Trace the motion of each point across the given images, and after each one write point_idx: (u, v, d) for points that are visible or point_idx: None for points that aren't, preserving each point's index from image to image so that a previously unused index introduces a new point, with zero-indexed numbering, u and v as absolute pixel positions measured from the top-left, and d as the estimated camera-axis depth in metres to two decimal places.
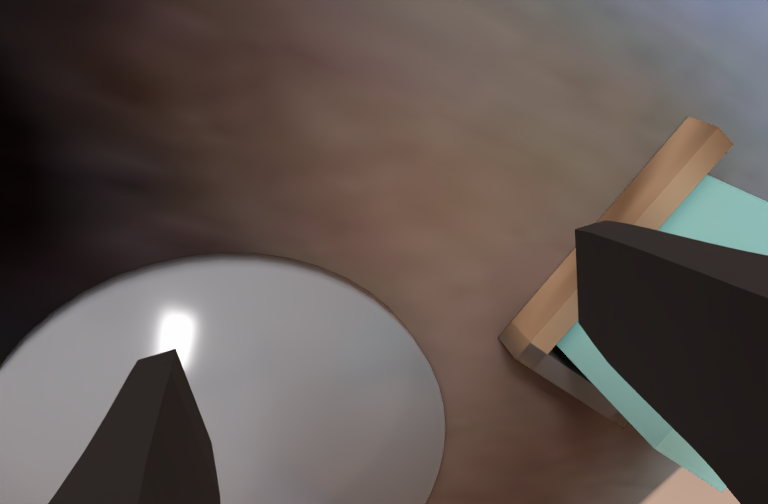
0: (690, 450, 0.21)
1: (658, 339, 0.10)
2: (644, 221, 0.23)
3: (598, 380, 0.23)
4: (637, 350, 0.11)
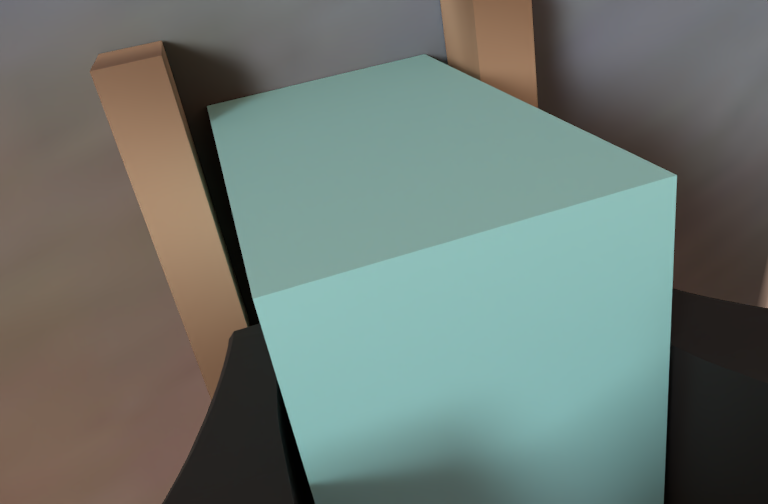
0: None
1: None
2: (190, 296, 0.11)
3: None
4: None
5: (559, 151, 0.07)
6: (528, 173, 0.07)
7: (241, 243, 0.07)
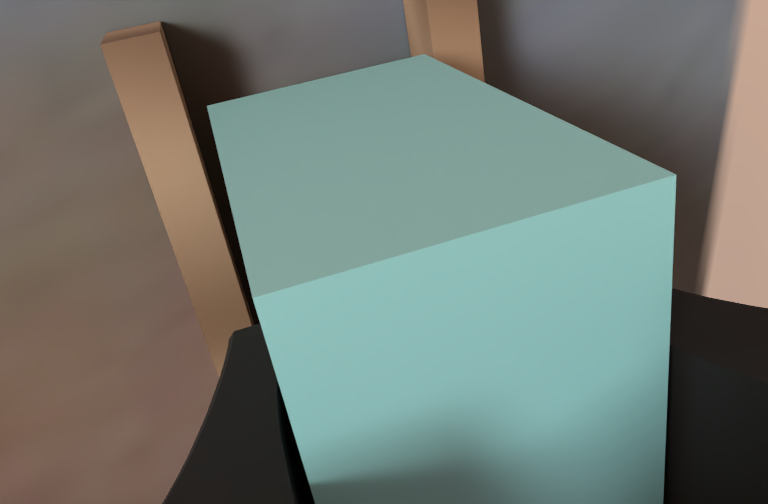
0: None
1: None
2: (185, 241, 0.13)
3: None
4: None
5: (559, 151, 0.07)
6: (527, 172, 0.07)
7: (241, 243, 0.07)
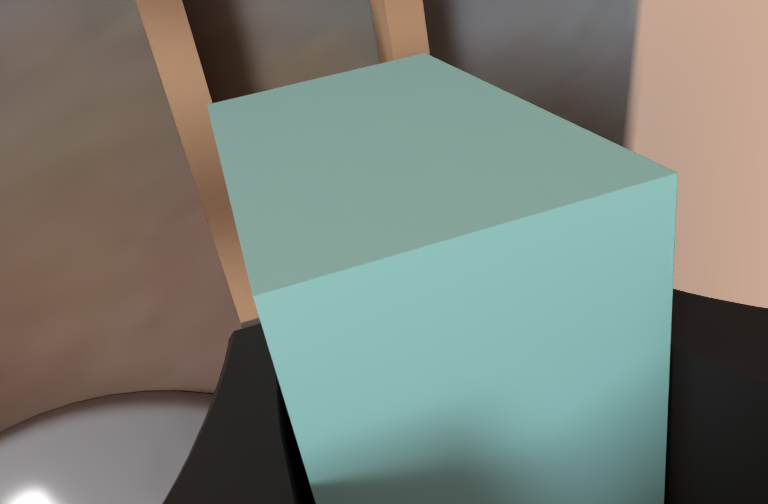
0: None
1: None
2: (190, 133, 0.17)
3: None
4: None
5: (559, 149, 0.07)
6: (528, 171, 0.07)
7: (241, 241, 0.07)
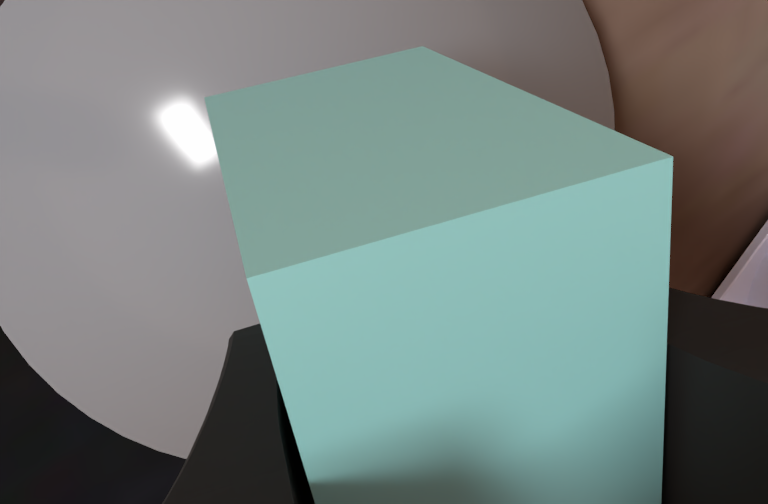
0: None
1: None
2: None
3: None
4: None
5: (556, 135, 0.07)
6: (524, 156, 0.07)
7: (236, 226, 0.06)
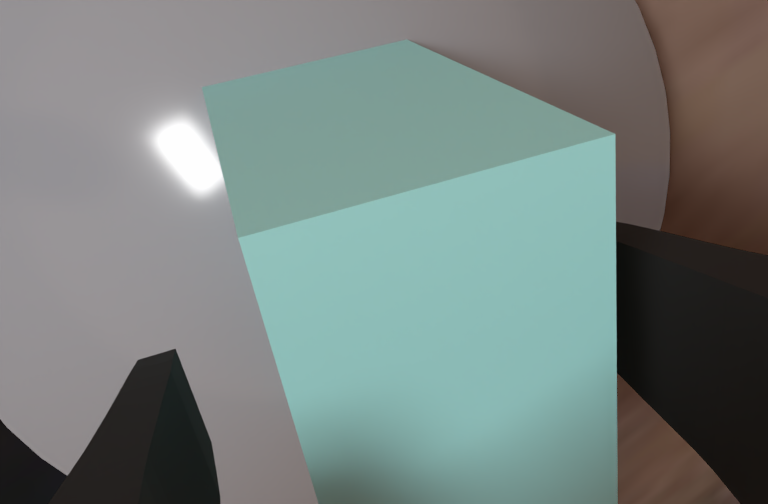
0: None
1: (658, 339, 0.10)
2: None
3: None
4: (637, 350, 0.11)
5: (517, 117, 0.08)
6: (486, 135, 0.08)
7: (230, 196, 0.07)
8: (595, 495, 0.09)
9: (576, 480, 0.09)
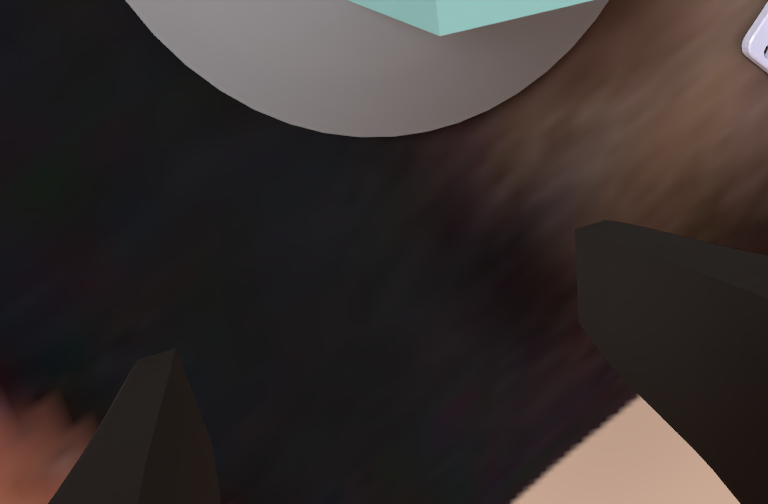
0: None
1: (658, 339, 0.10)
2: None
3: (386, 6, 0.15)
4: (637, 350, 0.11)
5: None
6: None
7: None
8: None
9: None
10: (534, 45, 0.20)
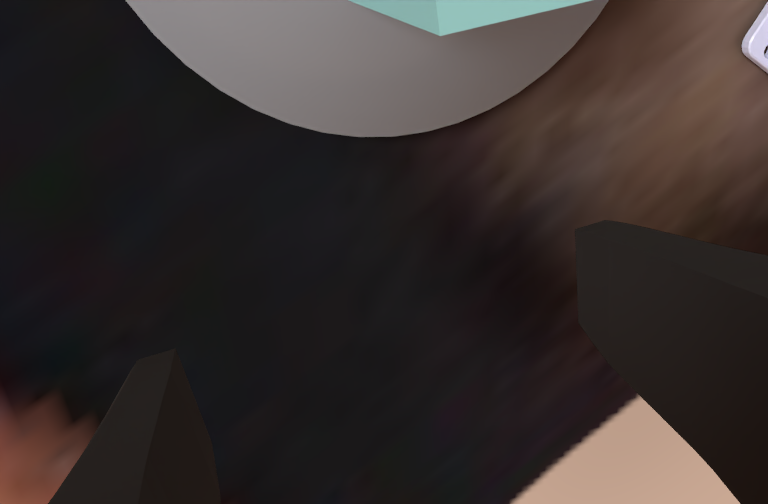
0: None
1: (658, 339, 0.10)
2: None
3: (386, 5, 0.15)
4: (637, 350, 0.11)
5: None
6: None
7: None
8: None
9: None
10: (534, 45, 0.20)
